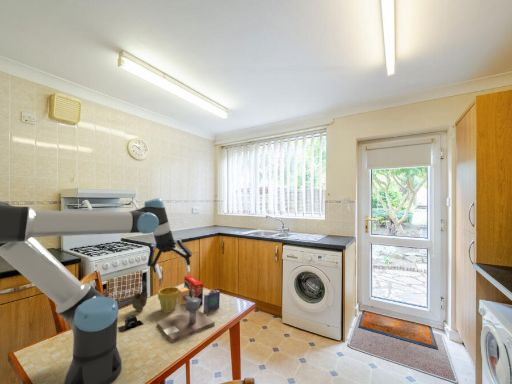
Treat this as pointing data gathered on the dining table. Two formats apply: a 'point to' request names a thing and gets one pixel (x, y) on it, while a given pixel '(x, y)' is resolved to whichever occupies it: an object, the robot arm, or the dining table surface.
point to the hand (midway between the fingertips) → (174, 274)
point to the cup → (139, 301)
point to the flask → (211, 300)
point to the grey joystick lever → (188, 300)
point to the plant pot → (168, 298)
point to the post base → (184, 325)
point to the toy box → (194, 287)
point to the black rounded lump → (128, 323)
